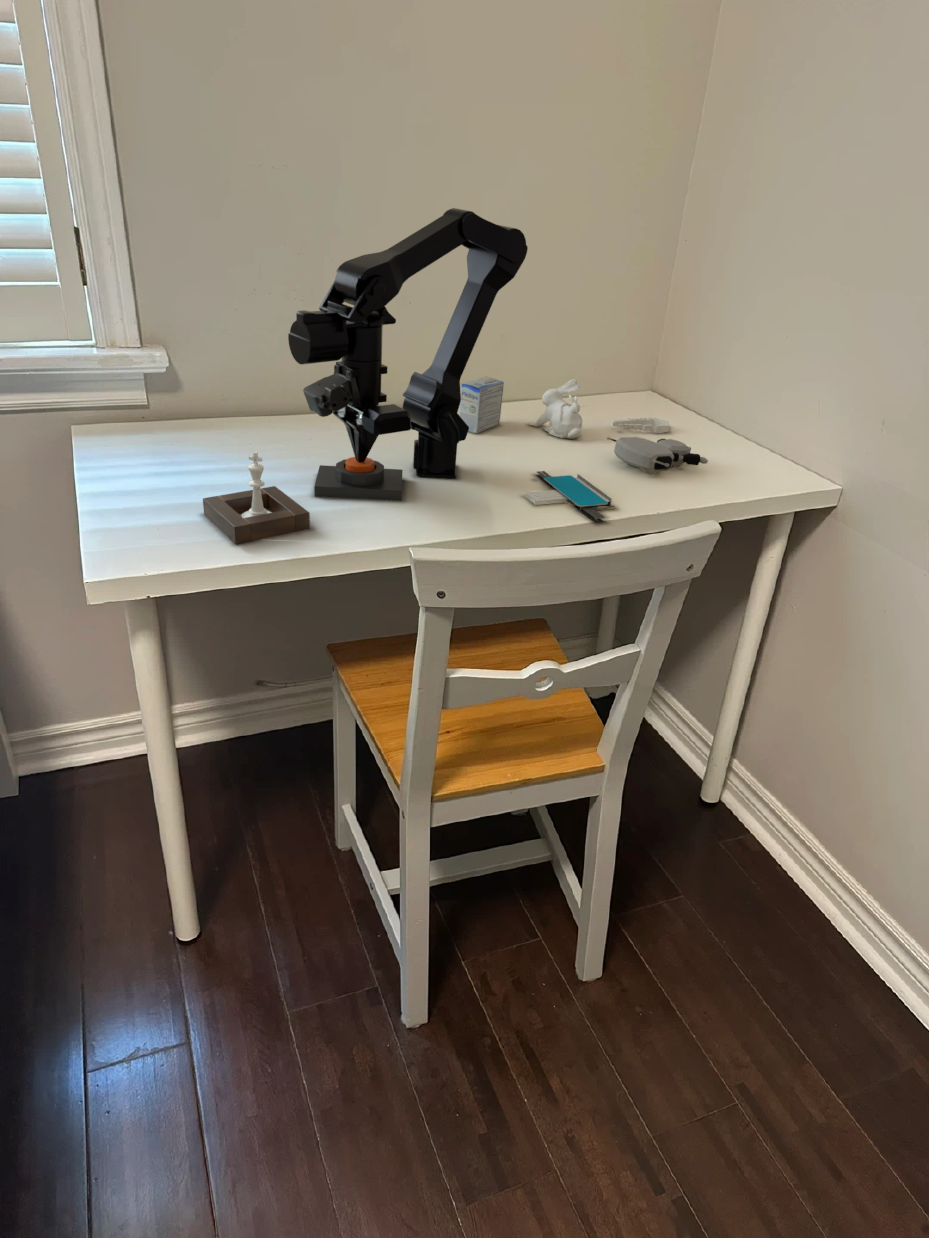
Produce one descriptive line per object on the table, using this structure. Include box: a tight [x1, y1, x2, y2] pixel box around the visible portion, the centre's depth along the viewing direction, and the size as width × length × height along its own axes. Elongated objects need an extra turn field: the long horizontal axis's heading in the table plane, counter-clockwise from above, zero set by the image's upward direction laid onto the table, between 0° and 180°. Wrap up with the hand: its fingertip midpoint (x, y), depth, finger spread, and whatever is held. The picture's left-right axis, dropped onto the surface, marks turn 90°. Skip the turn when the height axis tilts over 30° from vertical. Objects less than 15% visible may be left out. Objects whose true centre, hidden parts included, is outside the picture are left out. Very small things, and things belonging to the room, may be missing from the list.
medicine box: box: [458, 376, 505, 434], centre depth 162 cm, size 8×4×9 cm, turn 144°
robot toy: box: [606, 436, 709, 475], centre depth 151 cm, size 12×4×15 cm
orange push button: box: [346, 456, 375, 473], centre depth 131 cm, size 4×4×2 cm
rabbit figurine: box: [529, 378, 584, 440], centre depth 163 cm, size 12×8×10 cm, turn 32°
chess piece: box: [240, 451, 272, 518], centre depth 117 cm, size 5×5×10 cm
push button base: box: [313, 458, 403, 502], centre depth 132 cm, size 13×9×4 cm
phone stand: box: [524, 470, 616, 524], centre depth 135 cm, size 20×12×2 cm, turn 22°
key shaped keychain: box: [612, 416, 670, 434], centre depth 170 cm, size 13×5×2 cm, turn 114°
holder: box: [202, 485, 311, 545], centre depth 118 cm, size 11×11×2 cm
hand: (360, 461), depth 131 cm, fingers closed, pressing on orange push button
